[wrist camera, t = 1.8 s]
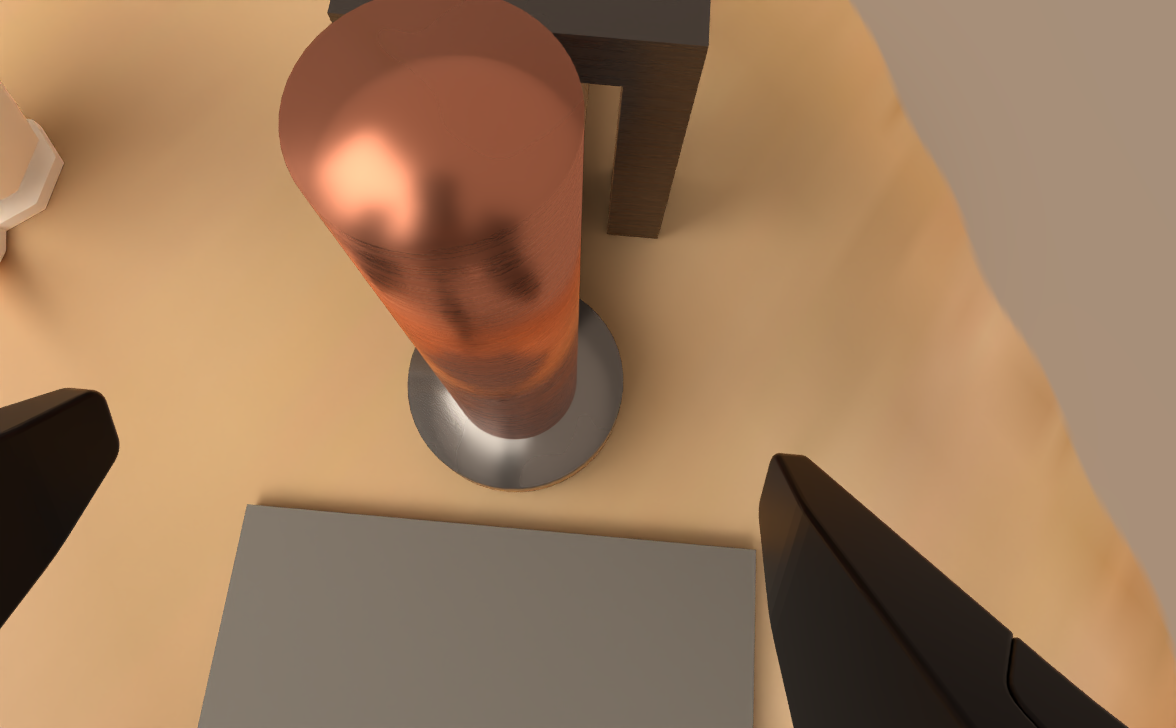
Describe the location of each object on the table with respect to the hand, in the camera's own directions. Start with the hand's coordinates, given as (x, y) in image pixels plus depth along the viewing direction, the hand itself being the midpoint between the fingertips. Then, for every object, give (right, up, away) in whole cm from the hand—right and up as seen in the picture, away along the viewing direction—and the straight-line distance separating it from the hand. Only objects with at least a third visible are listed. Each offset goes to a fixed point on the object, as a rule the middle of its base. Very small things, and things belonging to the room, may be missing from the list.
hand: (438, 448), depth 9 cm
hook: (0, +6, +12) cm, 14 cm away
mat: (-1, -9, +8) cm, 12 cm away
